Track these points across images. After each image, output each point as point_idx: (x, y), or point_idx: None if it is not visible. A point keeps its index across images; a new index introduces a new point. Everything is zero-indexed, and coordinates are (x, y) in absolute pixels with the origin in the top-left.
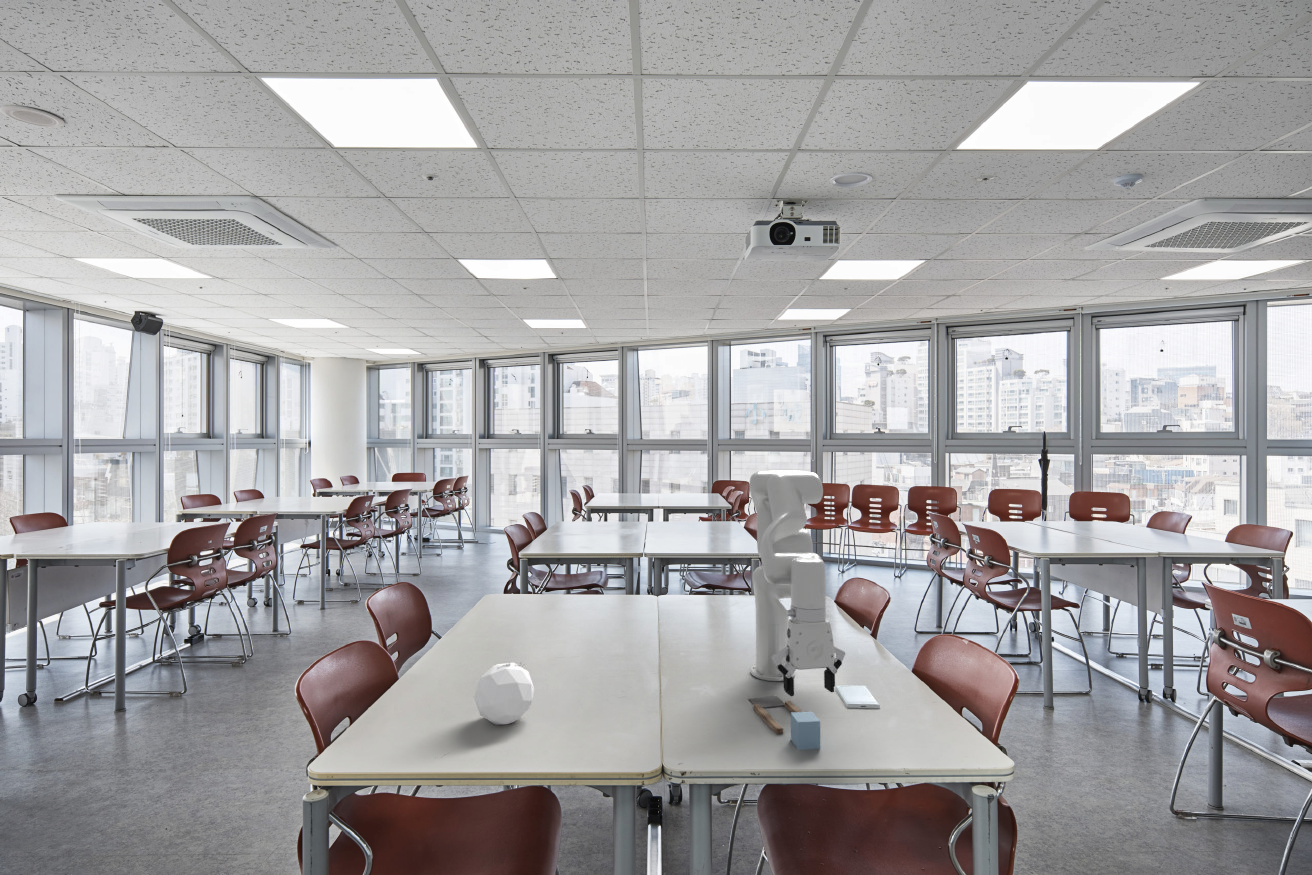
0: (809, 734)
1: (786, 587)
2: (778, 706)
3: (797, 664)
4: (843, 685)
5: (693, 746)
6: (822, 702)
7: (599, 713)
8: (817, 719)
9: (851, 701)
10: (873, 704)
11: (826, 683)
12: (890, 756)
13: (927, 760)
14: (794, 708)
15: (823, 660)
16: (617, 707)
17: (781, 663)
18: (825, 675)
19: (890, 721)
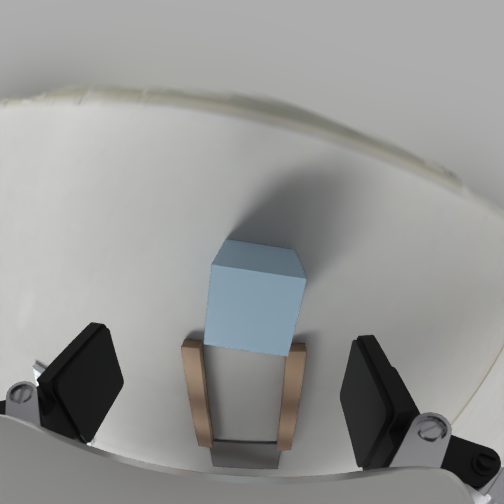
0: (258, 256)
1: None
2: (228, 441)
3: (444, 501)
4: None
5: (487, 315)
6: (127, 424)
7: (499, 417)
8: (215, 280)
9: None
10: (40, 372)
11: (107, 383)
12: (74, 159)
13: (27, 135)
14: (203, 422)
15: (31, 494)
16: (475, 435)
17: (482, 492)
18: (92, 418)
19: (26, 312)
